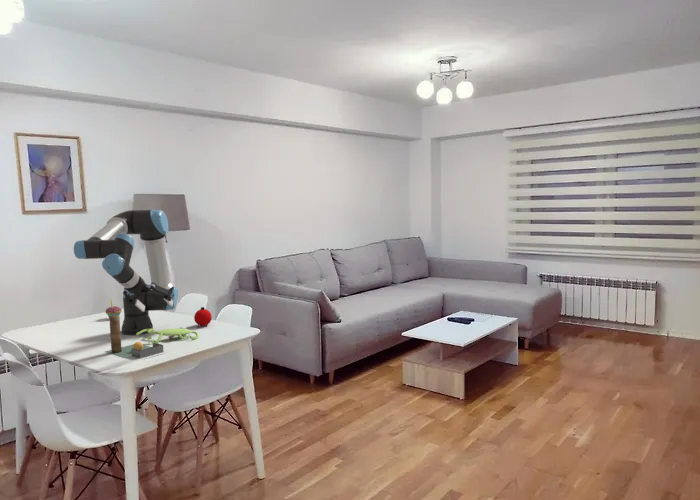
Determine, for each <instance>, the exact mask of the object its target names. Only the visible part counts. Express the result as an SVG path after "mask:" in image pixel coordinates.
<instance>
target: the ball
mask: <svg viewBox="0 0 700 500" xmlns="http://www.w3.org/2000/svg"><path fill="white" fill-rule="evenodd" d="M132 345H133V344H132ZM143 345H144V344H143V343H142V342H141V341H140V342H139V341H136V342H135V343H134V345H133V348H134V349H138V350H142V348H143Z"/></svg>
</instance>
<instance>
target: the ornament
mask: <svg viewBox="0 0 700 500" xmlns="http://www.w3.org/2000/svg"><path fill="white" fill-rule="evenodd" d="M212 318H213V317H212V313H211V311H209V309H206V308H205V307H204V306H201V307H200V309H198V310H197V311H196V312H195V314H194V317H193V319H194V322H195V323H196V325H198V326H200V327H205V326H207V325H209V324H210V323H211V322H212Z"/></svg>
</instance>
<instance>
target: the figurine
mask: <svg viewBox="0 0 700 500" xmlns="http://www.w3.org/2000/svg"><path fill="white" fill-rule="evenodd" d="M145 331H148V332H147V334H151V335H156V334H157V335H159V336H158V338H157V339H156V340H155V341H154V340H153V338H152V336H148V337H147V343H148V346H150V345H151V344H150V340H151V343H157V344H159V342H160V340H161V339H162V337H163V336H166V337H169V338H168V340H171V339H172V338H174V337H178V338H179V339H181V340H186V339H187V338H190V339H191V340H193V341H195V340H198V338H199V337H200V335H199V332H197V331H196V330H195V331H194V330H193V331H192V330H191V329H187V328H183V327H179V328H164V329H162V330H161V329H160V330H158V331H157V330H156V331H155V329H154V328H153V329H144V330H142V331H140V332H138V333H136V334H135V335H136V336H139V335H142V334H144V333H143V332H145ZM141 333H142V334H141ZM191 334H195V337H193V336H191Z"/></svg>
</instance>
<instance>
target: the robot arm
mask: <svg viewBox="0 0 700 500" xmlns="http://www.w3.org/2000/svg"><path fill="white" fill-rule="evenodd" d="M168 233H169V221H168V217H167V214H166V213H165V212H164V211H163V210H161V209H139V210H137V209H135V210H133V209H132V210H131V209H129V210H125V211H123V212H120V213H117V214H116V215H114V216H112V217H110V218H109V219H108V220H107V222H106V224H105V225H104V226H103V227H102V228H101V229H99V230H98V231H97V232H95V233H94V234H93V235H92V236H90V237H89V238H88V239H83V240H76V242H74V245H73V254H74V256H75V258H76V259H80V260H92V259H95V260H96V259H99V260H100V259H103V260H102V264H101V266H102V268H103V270H104V271H105V272H106V274H108V275H109V276H111V277H112V278H113V279H114V280H115V281H116V282H117V283H119V284H120V285H121V286H122V287H123V291H122V295H123V296H122V303H123V305H122V306H123V320H122V325H121V327H120V333H121V334H123V335H131V336H132V335H133V336H134V335H136V333H138V332H140V331H142V330H144V329H154V325H153V323H152V320H151V317H150V315H149V311H151V312H154V311H155V312H156V311H170V310H171V311H172V310H174V309H175V308H176V306H177V304H178V299H179V289H178V287H176V286H174V283H173V282H172V281H170V277H169V270H168V264H167V263H168V262H167V257H166V252H165V245H164V239H165V238H166V236H167V234H168ZM131 235H139V238H140V240H141V241H143V242H144V247H145V252H146V260H147V264H148V271H149V278H150V281H151V283H150V284H148V283H146V282H145V280H144V278H142V276H140V275H139V273H138V272H136V271H135V270H134V268H133V267H131V266H130V264H131V259H132V253H133V250H134V245H135V240H134V238H133V237H132V236H131ZM142 334H148V331H145V332H143V333H141V334H140V335H142Z"/></svg>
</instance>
